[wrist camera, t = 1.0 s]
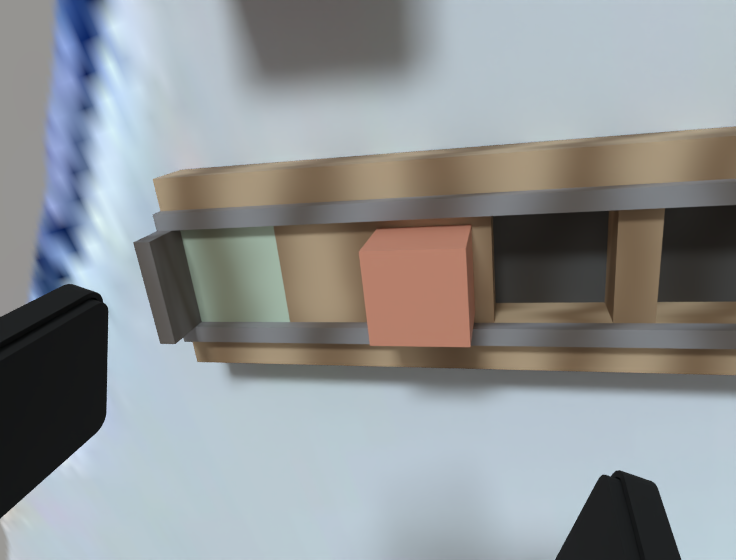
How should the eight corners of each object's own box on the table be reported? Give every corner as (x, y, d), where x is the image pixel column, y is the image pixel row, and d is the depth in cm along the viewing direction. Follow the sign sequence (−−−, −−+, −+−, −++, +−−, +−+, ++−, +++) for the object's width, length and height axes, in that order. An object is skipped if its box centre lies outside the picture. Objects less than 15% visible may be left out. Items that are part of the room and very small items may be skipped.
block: (471, 224, 28) (465, 248, 24) (475, 312, 30) (470, 347, 26) (377, 228, 29) (358, 251, 26) (386, 312, 31) (369, 345, 28)
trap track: (819, 119, 25) (902, 135, 20) (780, 348, 30) (840, 412, 24) (181, 169, 34) (119, 190, 29) (219, 340, 38) (171, 386, 33)
